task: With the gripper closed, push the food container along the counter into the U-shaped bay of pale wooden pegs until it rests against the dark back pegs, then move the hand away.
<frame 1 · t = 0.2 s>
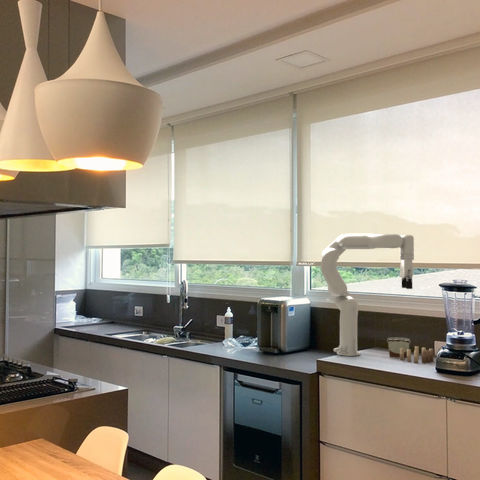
hand: (406, 288, 306), 36 cm above the countertop, tool pointing down, fingers open, 9 cm apart
food container: (398, 357, 298), on the countertop
peg bay: (416, 360, 288), on the countertop
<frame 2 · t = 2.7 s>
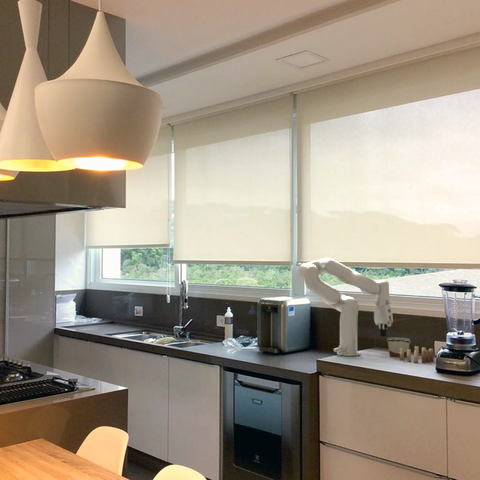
hand: (383, 336, 308), 10 cm above the countertop, tool pointing down, fingers closed
nothing on the countertop moved.
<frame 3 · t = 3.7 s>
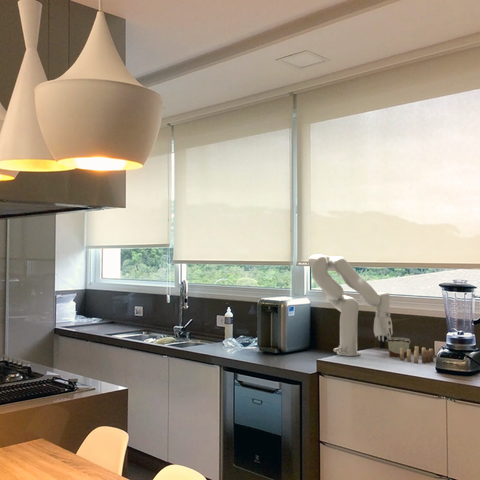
hand: (382, 348, 307), 3 cm above the countertop, tool pointing down, fingers closed
nothing on the countertop moved.
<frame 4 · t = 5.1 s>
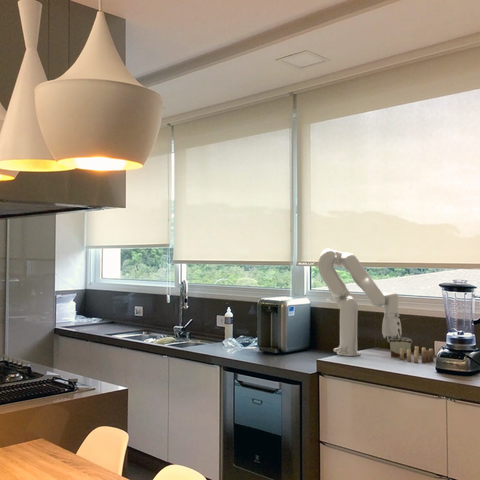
hand: (391, 349, 302), 3 cm above the countertop, tool pointing down, fingers closed
food container: (400, 356, 297), on the countertop, touching gripper
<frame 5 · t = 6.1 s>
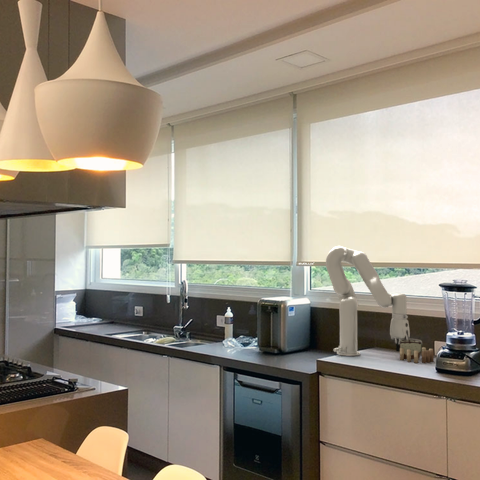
hand: (399, 351, 297), 3 cm above the countertop, tool pointing down, fingers closed
food container: (409, 358, 293), on the countertop, touching gripper
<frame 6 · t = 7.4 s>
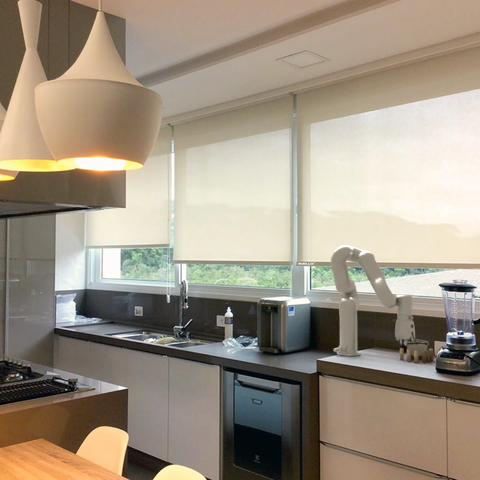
hand: (404, 352, 294), 3 cm above the countertop, tool pointing down, fingers closed
food container: (414, 359, 290), on the countertop, touching gripper
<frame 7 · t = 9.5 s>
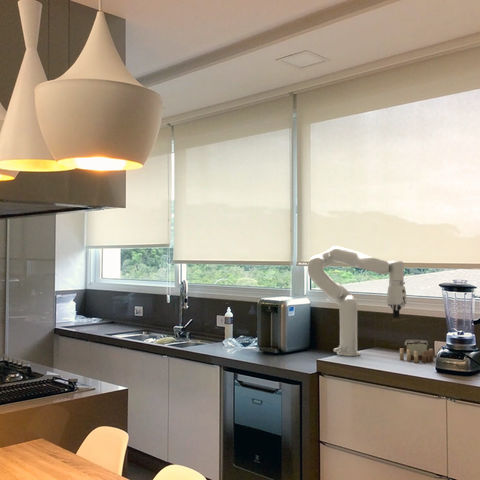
hand: (396, 317, 299), 21 cm above the countertop, tool pointing down, fingers closed
food container: (414, 359, 290), on the countertop
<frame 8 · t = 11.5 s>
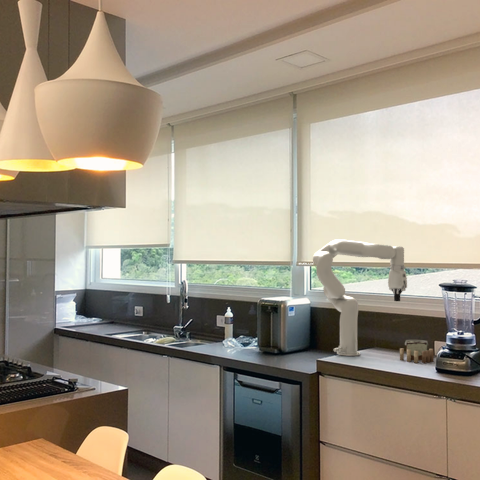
hand: (397, 301, 310), 29 cm above the countertop, tool pointing down, fingers closed
nothing on the countertop moved.
at the end: food container inside the target area on the peg bay (1.8 cm from its centre), point 0.0 cm above the peg bay's base; food container tilted 0°; food container moved 9.9 cm from its start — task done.
